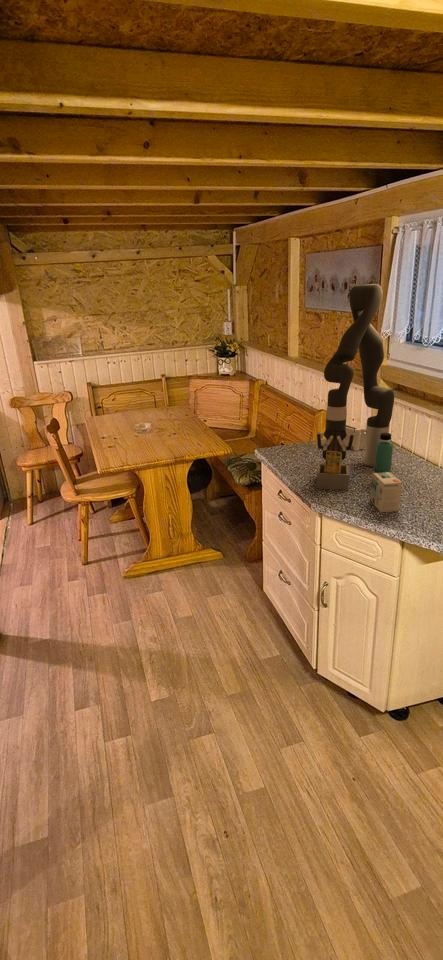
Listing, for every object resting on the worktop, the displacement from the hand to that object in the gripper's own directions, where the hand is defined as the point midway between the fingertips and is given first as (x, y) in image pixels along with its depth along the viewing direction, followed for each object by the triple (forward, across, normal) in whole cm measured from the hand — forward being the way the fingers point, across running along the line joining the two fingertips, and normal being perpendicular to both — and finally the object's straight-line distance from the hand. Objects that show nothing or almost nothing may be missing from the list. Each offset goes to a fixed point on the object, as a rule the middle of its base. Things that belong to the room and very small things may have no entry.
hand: (333, 459), depth 198 cm
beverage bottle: (+10, -19, -4) cm, 22 cm away
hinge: (+10, -10, -48) cm, 50 cm away
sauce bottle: (+8, 0, 0) cm, 8 cm away
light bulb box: (+10, -18, +19) cm, 28 cm away
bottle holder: (+10, 0, 0) cm, 10 cm away
